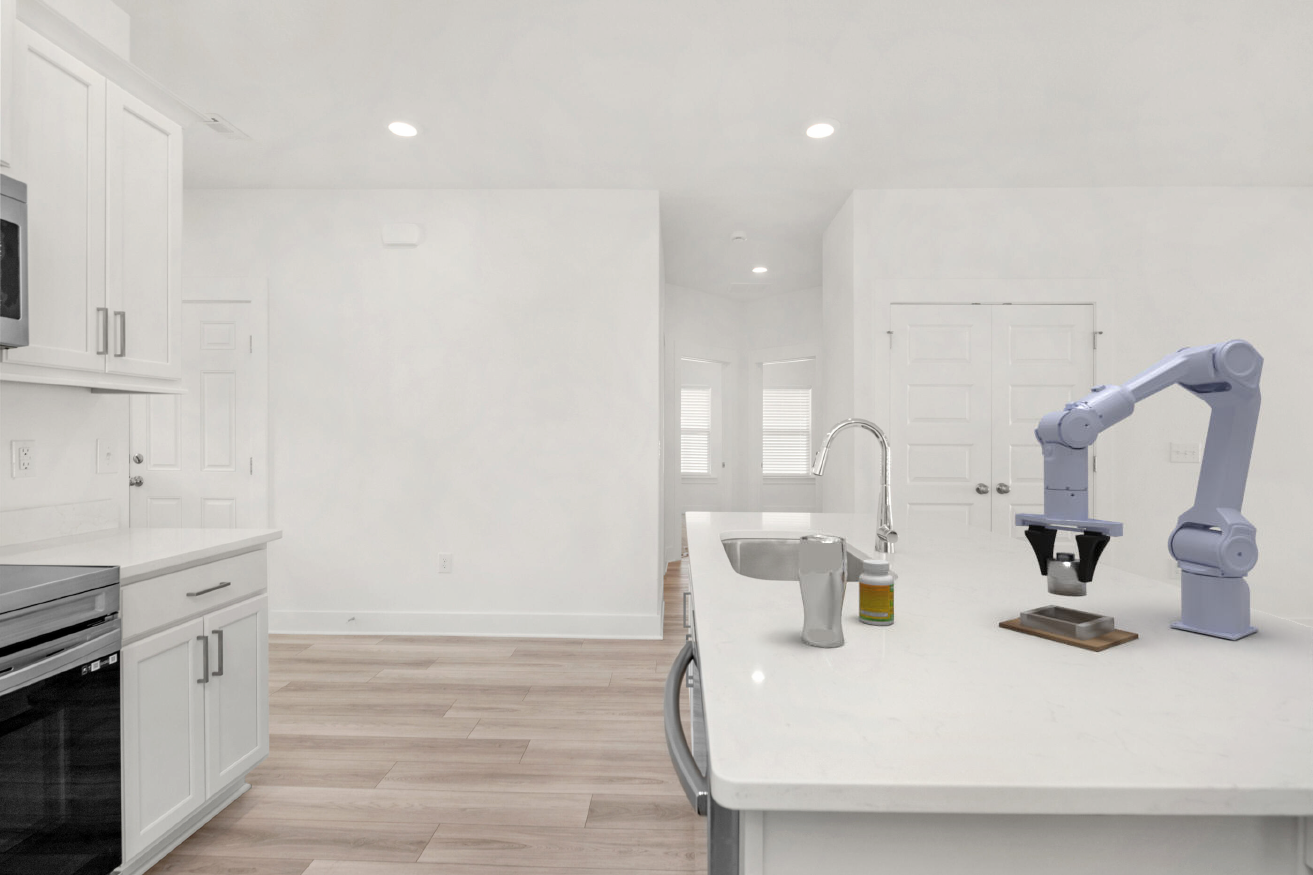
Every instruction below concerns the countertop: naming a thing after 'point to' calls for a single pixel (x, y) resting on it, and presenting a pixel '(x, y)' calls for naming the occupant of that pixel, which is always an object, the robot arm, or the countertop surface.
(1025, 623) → the carrier board
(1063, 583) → the chrome knobbed weight
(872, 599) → the supplement bottle
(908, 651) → the countertop surface
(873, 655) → the countertop surface
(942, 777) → the countertop surface
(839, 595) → the beer glass
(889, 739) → the countertop surface
